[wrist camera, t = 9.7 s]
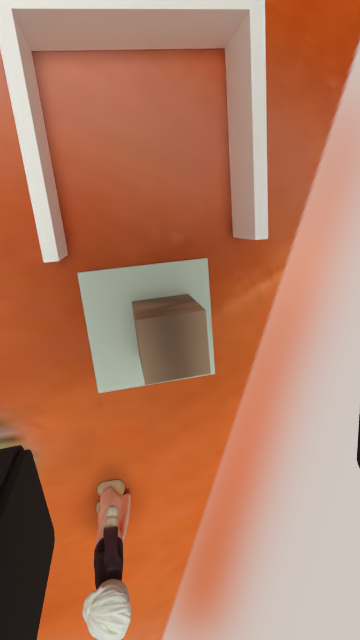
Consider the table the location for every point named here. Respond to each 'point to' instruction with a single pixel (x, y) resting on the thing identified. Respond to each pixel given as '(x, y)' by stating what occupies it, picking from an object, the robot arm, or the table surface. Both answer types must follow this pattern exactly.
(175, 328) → the walnut block
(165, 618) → the table surface
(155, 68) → the table surface
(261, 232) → the open side box
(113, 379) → the sage mat
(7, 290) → the table surface
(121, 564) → the grandmother figurine
